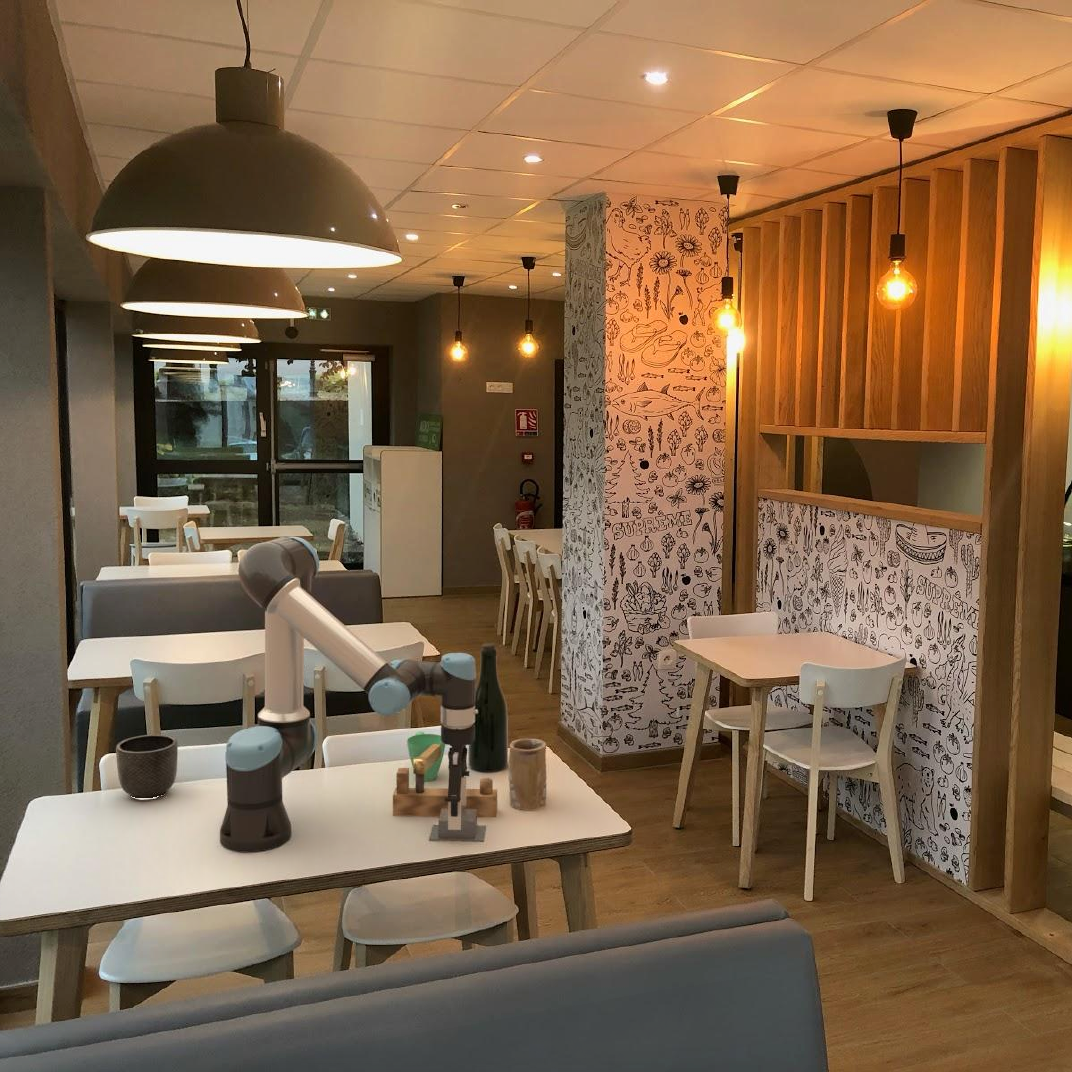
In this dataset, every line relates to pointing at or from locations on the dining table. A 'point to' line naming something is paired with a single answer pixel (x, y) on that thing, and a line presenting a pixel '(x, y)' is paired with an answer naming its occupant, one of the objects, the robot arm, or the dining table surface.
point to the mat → (478, 838)
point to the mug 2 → (527, 774)
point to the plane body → (439, 797)
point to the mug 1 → (420, 745)
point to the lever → (426, 759)
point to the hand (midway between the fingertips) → (457, 816)
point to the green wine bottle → (489, 718)
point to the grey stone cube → (466, 825)
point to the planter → (147, 765)
